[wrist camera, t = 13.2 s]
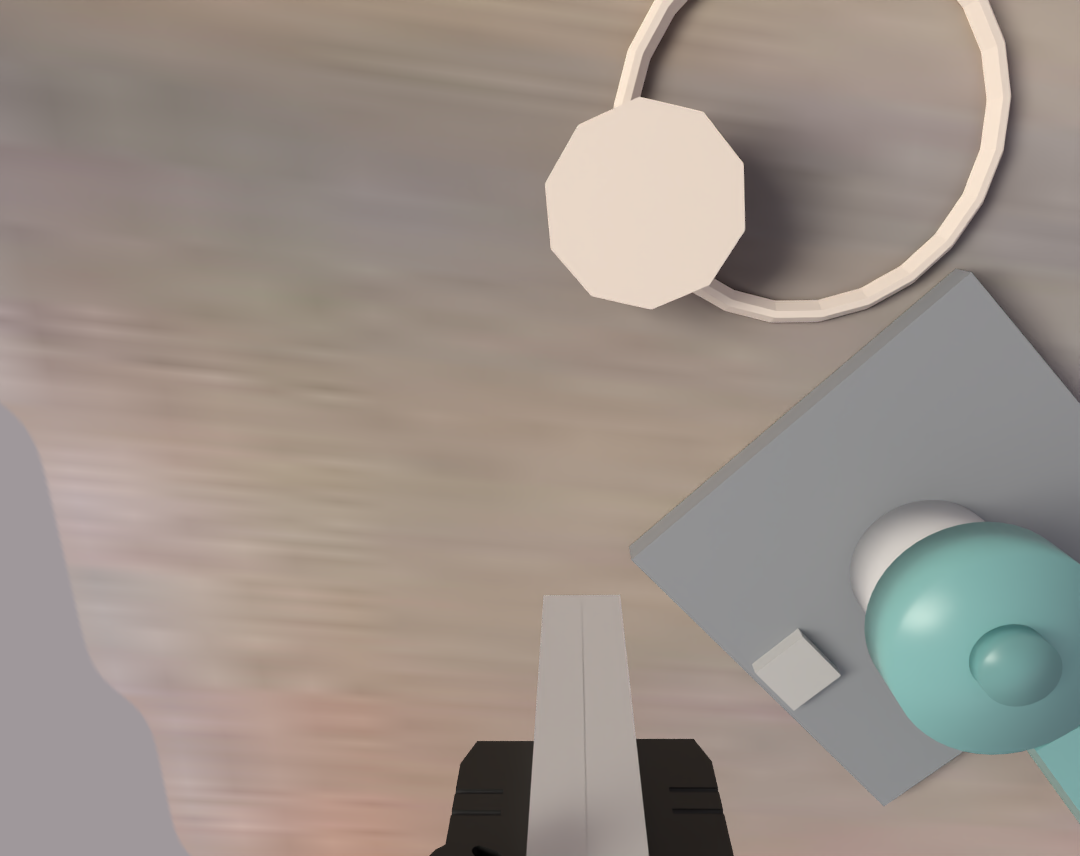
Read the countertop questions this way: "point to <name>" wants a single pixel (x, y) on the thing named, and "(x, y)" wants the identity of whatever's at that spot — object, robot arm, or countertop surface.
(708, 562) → the post board
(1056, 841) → the countertop surface
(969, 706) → the domed saucepan
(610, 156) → the hand towel holder
